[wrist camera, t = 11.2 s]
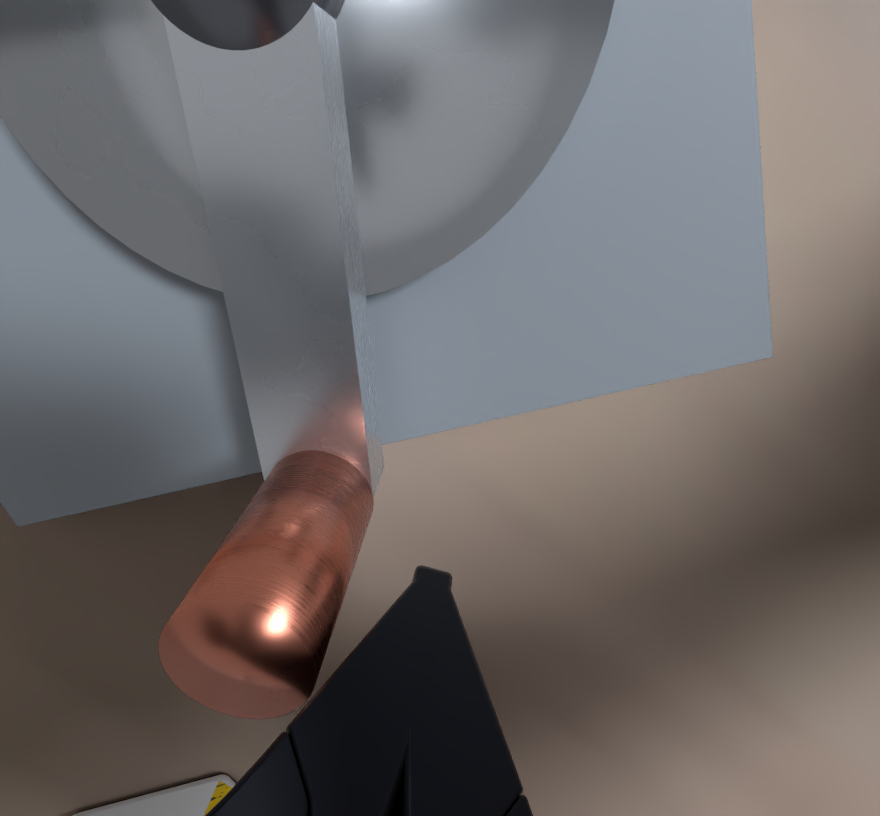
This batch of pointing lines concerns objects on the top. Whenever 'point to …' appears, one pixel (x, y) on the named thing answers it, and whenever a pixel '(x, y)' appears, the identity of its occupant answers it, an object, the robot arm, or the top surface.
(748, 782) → the top surface
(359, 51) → the crank
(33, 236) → the crank plate
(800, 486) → the top surface
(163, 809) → the medicine bottle
